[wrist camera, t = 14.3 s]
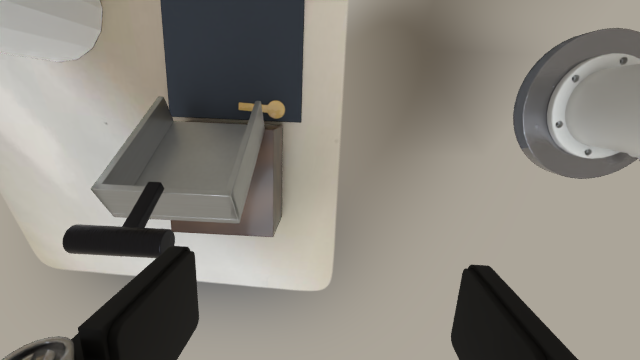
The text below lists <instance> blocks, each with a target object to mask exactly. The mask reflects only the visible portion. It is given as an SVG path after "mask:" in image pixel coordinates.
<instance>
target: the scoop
mask: <svg viewBox="0 0 640 360" xmlns="http://www.w3.org/2000/svg"><path fill="white" fill-rule="evenodd" d="M264 131H265V127H264V120H263V113H262V106H261V101H255V104H254V107H253V110H252V113H251V116H250V119H249V122H248V124H247V125H245V124H224V123H202V122H180V121H174V120H173V118H172V116H171V113H170V111H169V109H168V106H167V104H166V101H165V99H164V97H158V98H157V99H156V101H155V102H154V103H153V105H152V106H151V107H150V109H149V110H148V111H147V113H146V114H145V116H144V117H143V118H142V120H141V121H140V122H139V124H138V125H137V126H136V128H135V129H134V131H133V132H132V133H131V135H130V136H129V137H128V139H127V140H126V141H125V143H124V144H123V146H122V147H121V148H120V150H119V151H118V152H117V154H116V155H115V157H114V158H113V159H112V161H111V162H110V163H109V165H108V166H107V167H106V169H105V170H104V172H103V173H102V174H101V176H100V177H99V178H98V180H97V181H96V182H95V184H94V185H93V186H92V188H91V190H92V191H93V193H94V194H95V195H96V196H97V197H98V199H99V200H100V201H101V202H102V203H103V204H104V206H105V207H106V208H107V209H108V210H109V212H110V213H111V214H112V215H113V216H114V217H124V218H127V219H126V221H125V223H124V224H123V226H122V227H115V226H96V225H74V226H72V227H70V228H69V229H68V230H67V231H66V233H65V235H64V237H63V247H64V249H65V251H67V252H68V253H74V254H92V255H110V256H129V257H147V258H157V257H159V256H160V255H161V254H162V253H163V252H164V251H165V250H166V249H168V248H169V247H170V246H174V243H175V236H174V233H173V231H172V230H170V229H153V228H144V227H145V226H146V224H147V222H148V220H149V219H162V220H182V221H201V222H220V223H240V219H241V215H242V212H243V208H244V204H245V201H246V197H247V193H248V190H249V186H250V182H251V179H252V175H253V171H254V167H255V164H256V160H257V156H258V153H259V149H260V145H261V142H262V138H263V134H264Z"/></svg>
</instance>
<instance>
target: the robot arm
mask: <svg viewBox="0 0 640 360" xmlns="http://www.w3.org/2000/svg"><path fill="white" fill-rule="evenodd" d="M547 125H548V129H549V133H550V135H551V137H552V138H553V140H554V142H555V143H556V144H557V145H558V146H559V147H560V148H561V149H563V150H564V151H565V152H567V153H569V154H572V155H574V156H578V157H582V158H591V159H595V158H604V157H608V156H612V155H614V154H617V153H619V152H623V153H628V154H629V155H630V156H632V157H637V158H638V159H639V161H640V59H639V58H637V57H635V56H632V55H628V54H623V53H612V54H605V55H600V56H596V57H593V58H590V59H588V60H586V61H584V62H581V63H580V64H578V65H577V66H575V67H574V68H573V69H571V70H570V71H569V72H568V73H567V74H566V75H565V76H564V77H563V78H562V79H561V81H560V82H559V83H558V85H557V86H556V88H555V90H554V92H553V94H552V96H551V98H550V101H549V104H548V110H547ZM198 320H199V311H198V298H197V282H196V267H195V255H194V252H193V251H190V249H189V248H188V247H180V246H170V247H169V248H168V249H166V250H165V251H164V252H163V253H162V254H161V255H160V256H159V257H157V258H156V259H155V260H154V261H153V262H152V263H151V264H149V265H148V266H147V267H146V268H145V269H144V270H143V271H142V272H140V273H139V274H138V275H137V276H136V277H135V278H134V279H133V280H131V282H129V283H128V284H127V285H126V286H125V287H124V288H122V289H121V290H120V291H119V292H118V293H117V294H116V295H114V296H113V297H112V298H111V299H110V300H109V301H108V302H107V303H105V304H104V305H103V306H102V307H101V308H100V309H99V310H98V311H96V312H95V313H94V314H93V315H92V316H91V317H90V318H89V319H88V320H86V321H85V322H84V323H83V324H82V325H81V326H79V327H78V331H79V333H78V334H77V335H76V336H75V337H74V338H72V339H71V340H70V339H68V338H66V337H59V336H58V337H48V338H44V339H41V340H37V341H34V342H32V343H29V344H27V345H24V346H23V347H21V348H19V349H17V350H15V351H13V352H12V353H10V354H9V355H7V356H6V357H5V358H3V359H2V360H177V359H178V357H179V355H180V354H181V352H182V350H183V349H184V347H185V345H186V344H187V342H188V341H189V339H190V337H191V336H192V334H193V332H194V331H195V329H196V327H197V324H198ZM451 341H452V345H453V347H454V350H455V352H456V354H457V356H458V358H459V360H578V359H577V358H576V357H575V356H574V355H573V354H572V353H571V352H570V351H569V350H568V348H566V346H565V345H564V344H563V343H562V342H561V341H560V340H559V339H558V338H557V337H556V336H555V335H554V334H553V333H552V332H551V331H550V329H549V328H548V327H547V326H546V325H545V324H544V323H543V322H542V321H541V320H540V319H539V318H538V317H537V316H536V315H535V314H534V313H533V311H532V310H531V309H530V308H529V307H528V306H527V305H526V304H525V303H524V302H523V301H522V300H521V299H520V298H519V297H518V296H517V295H516V293H515V292H514V291H513V290H512V289H511V288H510V287H509V286H508V285H507V284H506V283H505V282H504V281H503V280H502V279H501V278H500V276H498V274H497V273H496V272H495V271H494V270H493V269H492V268H491V267H490V266H483V265H470V266H469V267H468V269H464V271H463V273H462V279H461V284H460V290H459V295H458V300H457V306H456V311H455V316H454V322H453V327H452V333H451Z"/></svg>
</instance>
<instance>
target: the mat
mask: <svg viewBox="0 0 640 360" xmlns="http://www.w3.org/2000/svg"><path fill="white" fill-rule="evenodd" d="M161 12H162V25H163V37H164V50H165V62H166V75H167V87H168V100H169V111H170V113H171V116H173V117H195V118H217V119H238V120H249V119H250V116H251V113H252V111H243V110H239V102H241V103H252V104H255V101H261V104H263V105H268V104H269V103H270V102H271V101H274V100H277V101H280V102H282V103H283V104H284V106H285V113H284V115H283V116H282V117H281V118H278V119H274V118H272V117H270V116H269V115H268V113H265V112H262V113H263V120H264V121H282V122H301V106H302V69H303V32H304V0H161Z"/></svg>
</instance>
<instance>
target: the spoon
mask: <svg viewBox="0 0 640 360" xmlns="http://www.w3.org/2000/svg"><path fill="white" fill-rule="evenodd" d="M261 106H262V112H265V113H268V115H269V116H270V117H272V118H274V119H278V118H281V117H282V116H283V115H284V113H285V106H284V104H283V103H282V102H280V101H277V100H274V101H271V102H270V103H269V104H268V105H263V104H261ZM253 107H254V104H252V103H241V102H239V110H243V111H252V110H253Z"/></svg>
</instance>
